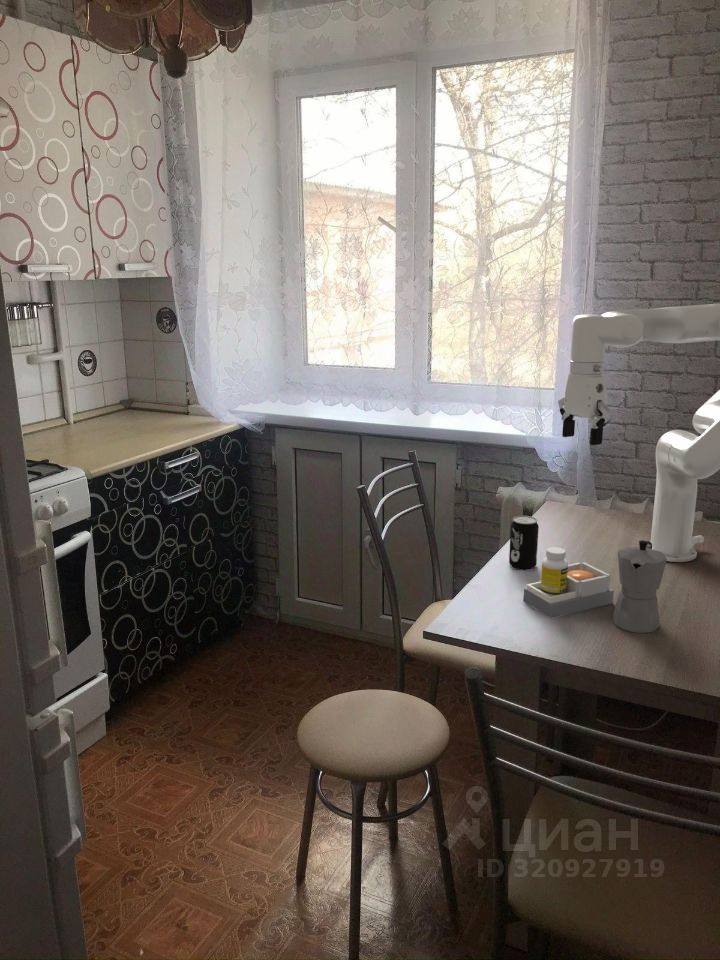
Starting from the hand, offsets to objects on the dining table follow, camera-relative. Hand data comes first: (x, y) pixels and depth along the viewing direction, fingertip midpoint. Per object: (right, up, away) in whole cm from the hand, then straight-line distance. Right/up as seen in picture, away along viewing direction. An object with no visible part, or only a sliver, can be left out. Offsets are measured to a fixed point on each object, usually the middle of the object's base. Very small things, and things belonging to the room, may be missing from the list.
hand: (581, 440), depth 186 cm
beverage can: (-13, -31, +4) cm, 34 cm away
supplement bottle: (-12, -34, -19) cm, 40 cm away
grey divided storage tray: (-8, -36, -16) cm, 40 cm away
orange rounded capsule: (-5, -35, -15) cm, 39 cm away
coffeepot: (+4, -39, -25) cm, 47 cm away
